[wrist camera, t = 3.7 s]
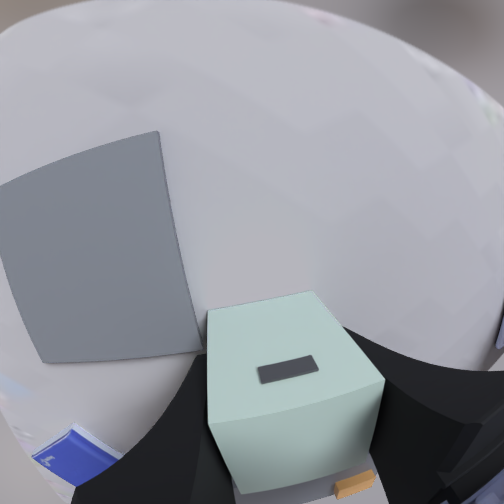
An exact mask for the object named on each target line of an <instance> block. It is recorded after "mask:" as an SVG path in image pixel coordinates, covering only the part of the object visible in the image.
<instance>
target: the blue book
mask: <svg viewBox="0 0 504 504" xmlns="http://www.w3.org/2000/svg"><path fill="white" fill-rule="evenodd" d="M123 456H124V455H122V454H121V453H119V452H117V451H116V450H114V449H112V448H111V447H109V446H108V445H106V444H105V443H103V442H102V441H100V440H99V439H97V438H96V437H94V436H93V435H91V434H90V433H88V432H87V431H86V430H84V429H83V428H81V427H80V426H79V425H77V424H76V423H75V422H73V423H72V424H70V425H69V426H68V427H66V428H65V429H63V430H62V431H60V432H59V433H58V434H56V435H55V436H53V437H52V438H50V439H49V440H48V441H46V442H45V443H43V444H42V445H40V446H39V447H37V448H36V449H34V451H33V454H32V458H33V459H35V460H36V461H37V462H38V463H40V464H41V465H43V466H44V467H46V468H47V469H48V470H50V471H51V472H53V473H55V474H56V475H58V476H59V477H61V478H62V479H64V480H66V481H67V482H69V483H71V484H72V485H74V486H76V487H77V486H79V485H81V484H83V483H85V482H86V481H88V480H90V479H92V478H93V477H95V476H97V475H98V474H100V473H101V472H103V471H104V470H106V469H107V468H109V467H110V466H111V465H113V464H114V463H116V462H117V461H118V460H119V459H121V458H122V457H123Z"/></svg>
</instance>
